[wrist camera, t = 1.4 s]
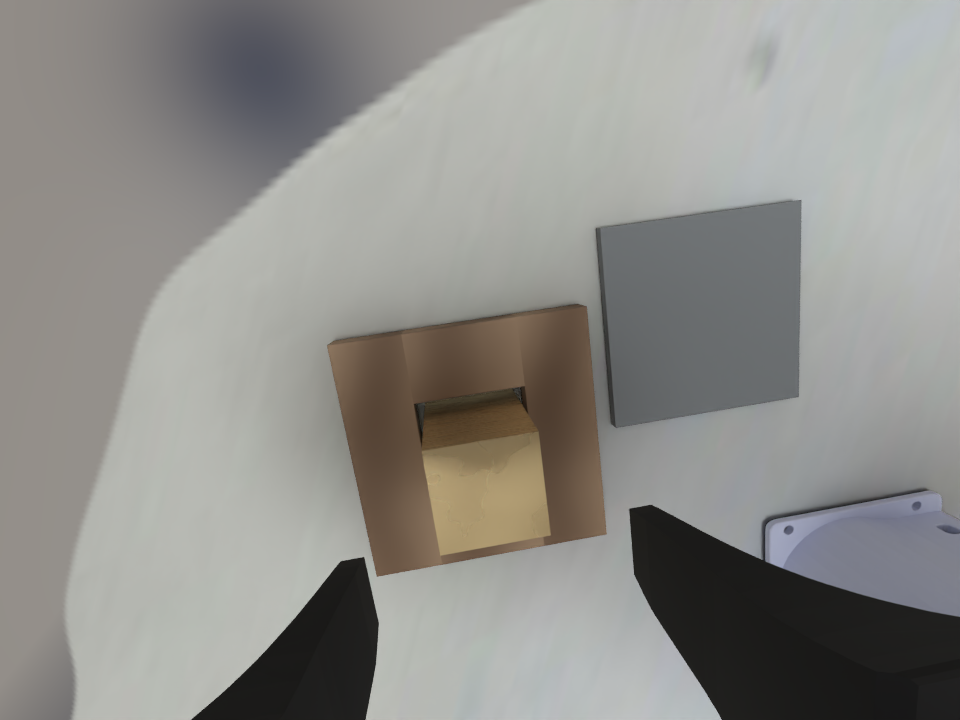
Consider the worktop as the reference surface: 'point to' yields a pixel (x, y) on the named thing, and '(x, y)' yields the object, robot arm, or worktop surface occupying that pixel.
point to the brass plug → (483, 472)
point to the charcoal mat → (701, 311)
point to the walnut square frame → (459, 372)
